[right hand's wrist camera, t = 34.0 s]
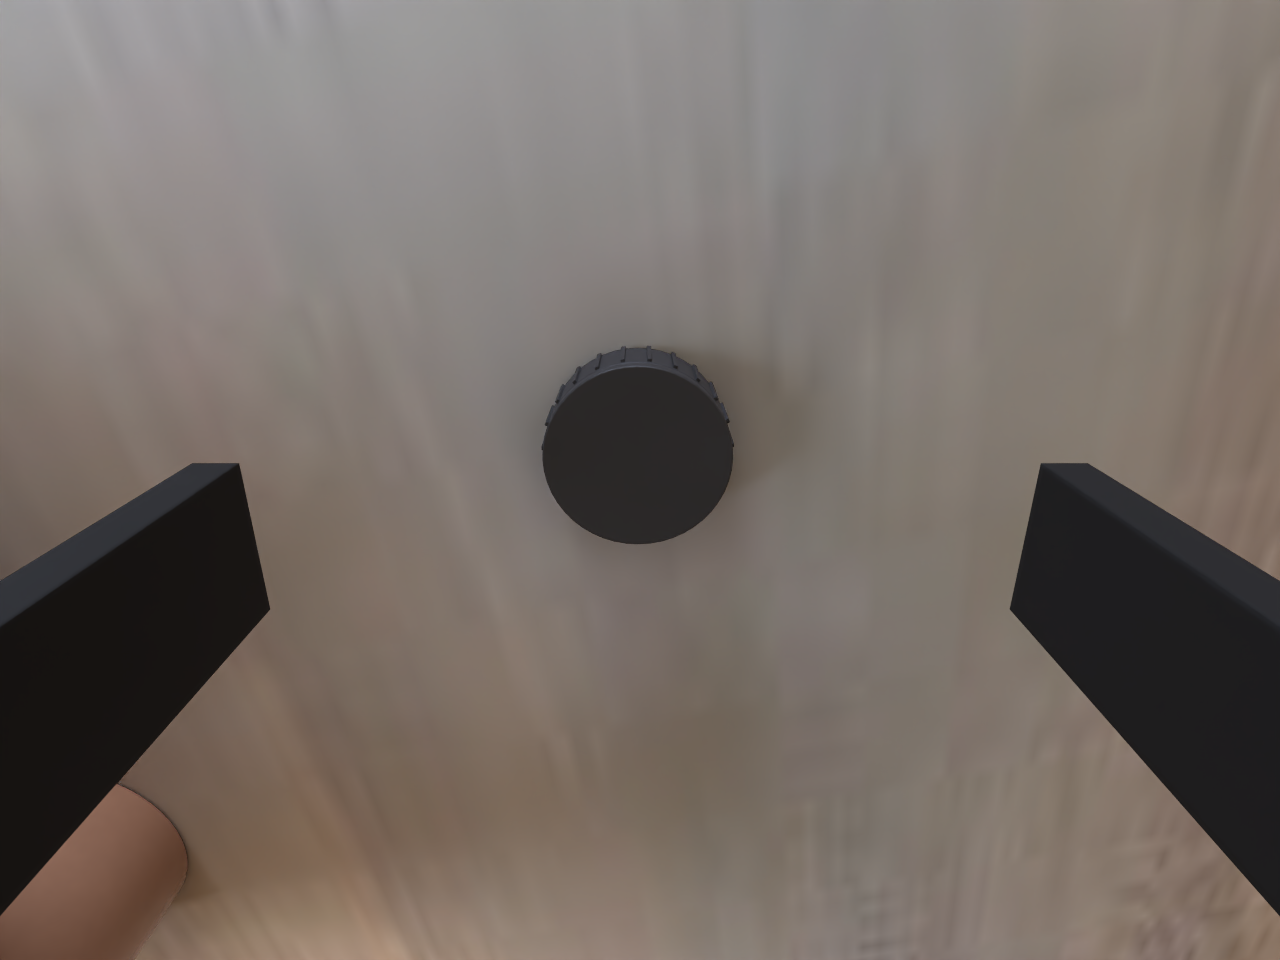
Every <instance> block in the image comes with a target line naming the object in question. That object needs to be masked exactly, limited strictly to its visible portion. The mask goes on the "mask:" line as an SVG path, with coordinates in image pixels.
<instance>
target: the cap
mask: <svg viewBox="0 0 1280 960" xmlns="http://www.w3.org/2000/svg"><path fill="white" fill-rule="evenodd" d="M555 402H556V404H555V406H553V405H552V407H551V410H550V412H549V415H548V418H547V420H546V423H545V426H547V430H546V433H545V436H544V442H543V444H542V450H543V466H544V473H545V476H546V480H547V483H548V485H549V488H550V490H551V493H552V494H553V496H554V498H555V499H556V501H557V503H558V504H559V505H560V507H561V508H562V509H563V510H564V512H565V513H566V514H567V515H568V516H569V517H570V518H571V519H572V520H573V521H575V522H576V523H577V524H579V525H580V526H581V527H583V528H584V529H586V530H588V531H589V532H591V533H593V534H595V535H597V536H600V537H602V538H605V539H608V540H611V541H615V542H621V543H626V544H648V543H655V542H660V541H664V540H667V539H671V538H674V537H676V536H678V535H680V534H683V533H685V532H686V531H688V530H690V529H691V528H693V527H694V526H696V525H697V524H698V523H700V522H701V521H702V520H703V519H704V518H705V517H706V516H707V515H708V514H709V513H710V512H711V511H712V510H713V509H714V507H715V506H716V505H717V503H718V502H719V500H720V499H721V497H722V495H723V494H724V492H725V489H726V487H727V484H728V482H729V478H730V475H731V471H732V463H733V447H734V443H733V440H732V437H731V434H730V431H729V428H728V425H727V423H729V422H730V421H729V418H728V416H727V413H726V410H725V408H724V405H723V403H719V400H718V396H717V394H716V391H715V388H714V385H713V383H712V382H710V383H708V381H707V380H706V379H705V378H704V377H703V376H702V375H701V373H699V372H698V369H697V366H696V365H694V364H693V365H692V366H691V365H690V364H688V363H687V362H685V361H684V360H682V359H680V358H678V357H676V354H675V353H673V352H672V353H671V354H668V353H665V352H662V351H658V350H653V349H651V346H647V349H646V348H630V349H626V347H625V346H624V347H622V348H621V350H617V351H613V352H610V353H607V354H604V355H602V354H601V353H600V354H598V355H597V358H596V359H594V360H592V361H590V362H589V363H588V364H586V365H585V366H583V367H582V368H581V367H580V366H579V367H578V368H577V369H576V372H575V374H574V375H573V376H572V378H571V379H570V380H569V381H568V382H567V384H566V385H564V384H562V386H561V388H560V391H559V393H558V396H557V399H556V401H555Z"/></svg>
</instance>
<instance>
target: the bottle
mask: <svg viewBox="0 0 1280 960" xmlns="http://www.w3.org/2000/svg"><path fill="white" fill-rule="evenodd" d="M187 868H188V860H187V853H186V849H185V846H184V843H183V841H182V839H181V837H180V835H179V833H178V831H177V830H176V828H175V827H174V826H173V824H172V823H171V822H170V821H169V819H168V818H167V817H166V816H165V815H164V814H163V813H162V812H161V811H160V810H159V809H157V808H156V807H155V806H154V805H153V804H151V803H150V802H149V801H147V800H146V799H144V798H143V797H141V796H140V795H138V794H136V793H134V792H133V791H131V790H129V789H127V788H125V787H123V786H120V785H118V784H116V785H115V786H114V787H113V788H112V790H111V791H110V792H109V793H108V794H107V795H106V796H105V798H104V799H103V800H102V801H101V802H100V803H99V804H98V806H97V807H96V808H95V809H94V810H93V811H92V812H91V813H90V815H89V816H88V817H87V818H86V819H85V820H84V821H83V823H82V824H81V825H80V826H79V827H78V828H77V829H76V831H75V832H74V833H73V834H72V835H71V836H70V837H69V838H68V840H67V841H66V842H65V843H64V844H63V845H62V846H61V848H60V849H59V850H58V851H57V852H56V853H55V854H54V856H53V857H52V858H51V859H50V860H49V861H48V862H47V863H46V865H45V866H44V867H43V868H42V869H41V870H40V871H39V873H38V874H37V875H36V876H35V877H34V878H33V879H32V881H31V882H30V883H29V884H28V885H27V886H26V887H25V888H24V890H23V891H22V892H21V893H20V894H19V895H18V896H17V898H16V899H15V900H14V901H13V902H12V903H11V904H10V906H9V907H8V908H7V909H6V910H5V911H4V912H3V913H2V915H1V916H0V960H135V959H136V957H137V955H138V954H139V952H140V951H141V949H142V948H143V946H144V945H145V943H146V942H147V940H148V938H149V937H150V935H151V934H152V932H153V931H154V929H155V928H156V926H157V925H158V923H159V921H160V920H161V918H162V917H163V915H164V914H165V912H166V911H167V909H168V907H169V906H170V904H171V903H172V901H173V900H174V898H175V897H176V895H177V894H178V892H179V890H180V889H181V887H182V886H183V883H184V881H185V878H186V874H187Z"/></svg>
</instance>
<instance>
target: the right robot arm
mask: <svg viewBox="0 0 1280 960" xmlns="http://www.w3.org/2000/svg"><path fill="white" fill-rule="evenodd" d="M269 610H270V606H269V601H268V597H267V592H266V587H265V583H264V578H263V573H262V569H261V564H260V559H259V555H258V550H257V545H256V540H255V536H254V531H253V526H252V522H251V517H250V512H249V508H248V503H247V498H246V494H245V489H244V484H243V480H242V475H241V470H240V465H239V463H192V464H190V465H189V466H187V467H186V468H184V469H182V470H181V471H179V472H177V473H176V474H174V475H172V476H171V477H169V478H168V479H166V480H164V481H163V482H161V483H159V484H158V485H156V486H155V487H153V488H151V489H150V490H148V491H146V492H145V493H143V494H142V495H140V496H138V497H137V498H135V499H133V500H132V501H130V502H128V503H127V504H125V505H124V506H122V507H120V508H119V509H117V510H115V511H114V512H112V513H111V514H109V515H107V516H106V517H104V518H102V519H101V520H99V521H97V522H96V523H94V524H93V525H91V526H89V527H88V528H86V529H84V530H83V531H81V532H80V533H78V534H76V535H75V536H73V537H71V538H70V539H68V540H66V541H65V542H63V543H62V544H60V545H58V546H57V547H55V548H53V549H52V550H50V551H49V552H47V553H45V554H44V555H42V556H40V557H39V558H37V559H35V560H34V561H32V562H31V563H29V564H27V565H26V566H24V567H22V568H21V569H19V570H18V571H16V572H14V573H13V574H11V575H9V576H8V577H6V578H4V579H3V580H1V581H0V916H1V915H2V913H3V912H4V911H5V910H6V909H7V908H8V907H9V906H10V904H11V903H12V902H13V901H14V900H15V899H16V898H17V896H18V895H19V894H20V893H21V892H22V891H23V890H24V888H25V887H26V886H27V885H28V884H29V883H30V882H31V881H32V879H33V878H34V877H35V876H36V875H37V874H38V873H39V871H40V870H41V869H42V868H43V867H44V866H45V865H46V863H47V862H48V861H49V860H50V859H51V858H52V857H53V856H54V854H55V853H56V852H57V851H58V850H59V849H60V848H61V846H62V845H63V844H64V843H65V842H66V841H67V840H68V838H69V837H70V836H71V835H72V834H73V833H74V832H75V831H76V829H77V828H78V827H79V826H80V825H81V824H82V823H83V821H84V820H85V819H86V818H87V817H88V816H89V815H90V813H91V812H92V811H93V810H94V809H95V808H96V807H97V806H98V804H99V803H100V802H101V801H102V800H103V799H104V798H105V796H106V795H107V794H108V793H109V792H110V791H111V790H112V788H113V787H114V786H115V785H116V784H117V783H118V782H119V781H120V779H121V778H122V777H123V776H124V775H125V774H126V773H127V771H128V770H129V769H130V768H131V767H132V766H133V765H134V763H135V762H136V761H137V760H138V759H139V758H140V757H141V756H142V754H143V753H144V752H145V751H146V750H147V749H148V748H149V746H150V745H151V744H152V743H153V742H154V741H155V740H156V738H157V737H158V736H159V735H160V734H161V733H162V732H163V730H164V729H165V728H166V727H167V726H168V725H169V724H170V723H171V721H172V720H173V719H174V718H175V717H176V716H177V715H178V713H179V712H180V711H181V710H182V709H183V708H184V707H185V705H186V704H187V703H188V702H189V701H190V700H191V699H192V698H193V696H194V695H195V694H196V693H197V692H198V691H199V690H200V688H201V687H202V686H203V685H204V684H205V683H206V682H207V680H208V679H209V678H210V677H211V676H212V675H213V674H214V673H215V671H216V670H217V669H218V668H219V667H220V666H221V665H222V663H223V662H224V661H225V660H226V659H227V658H228V657H229V655H230V654H231V653H232V652H233V651H234V650H235V649H236V648H237V646H238V645H239V644H240V643H241V642H242V641H243V640H244V638H245V637H246V636H247V635H248V634H249V633H250V632H251V630H252V629H253V628H254V627H255V626H256V625H257V624H258V623H259V621H260V620H261V619H262V618H263V617H264V616H265V615H266V613H267V612H268V611H269ZM1010 610H1011V611H1012V612H1013V613H1014V615H1015V616H1016V617H1017V618H1018V619H1019V620H1020V621H1021V623H1022V624H1023V625H1024V626H1025V627H1026V628H1027V629H1028V630H1029V632H1030V633H1031V634H1032V635H1033V636H1034V637H1035V638H1036V640H1037V641H1038V642H1039V643H1040V644H1041V645H1042V646H1043V648H1044V649H1045V650H1046V651H1047V652H1048V653H1049V654H1050V655H1051V657H1052V658H1053V659H1054V660H1055V661H1056V662H1057V663H1058V665H1059V666H1060V667H1061V668H1062V669H1063V670H1064V671H1065V673H1066V674H1067V675H1068V676H1069V677H1070V678H1071V679H1072V680H1073V682H1074V683H1075V684H1076V685H1077V686H1078V687H1079V688H1080V690H1081V691H1082V692H1083V693H1084V694H1085V695H1086V696H1087V698H1088V699H1089V700H1090V701H1091V702H1092V703H1093V704H1094V705H1095V707H1096V708H1097V709H1098V710H1099V711H1100V712H1101V713H1102V715H1103V716H1104V717H1105V718H1106V719H1107V720H1108V721H1109V723H1110V724H1111V725H1112V726H1113V727H1114V728H1115V729H1116V730H1117V732H1118V733H1119V734H1120V735H1121V736H1122V737H1123V738H1124V740H1125V741H1126V742H1127V743H1128V744H1129V745H1130V746H1131V748H1132V749H1133V750H1134V751H1135V752H1136V753H1137V754H1138V756H1139V757H1140V758H1141V759H1142V760H1143V761H1144V762H1145V763H1146V765H1147V766H1148V767H1149V768H1150V769H1151V770H1152V771H1153V773H1154V774H1155V775H1156V776H1157V777H1158V778H1159V779H1160V781H1161V782H1162V783H1163V784H1164V785H1165V786H1166V787H1167V788H1168V790H1169V791H1170V792H1171V793H1172V794H1173V795H1174V796H1175V798H1176V799H1177V800H1178V801H1179V802H1180V803H1181V804H1182V806H1183V807H1184V808H1185V809H1186V810H1187V811H1188V812H1189V813H1190V815H1191V816H1192V817H1193V818H1194V819H1195V820H1196V821H1197V823H1198V824H1199V825H1200V826H1201V827H1202V828H1203V829H1204V831H1205V832H1206V833H1207V834H1208V835H1209V836H1210V837H1211V838H1212V840H1213V841H1214V842H1215V843H1216V844H1217V845H1218V846H1219V848H1220V849H1221V850H1222V851H1223V852H1224V853H1225V854H1226V856H1227V857H1228V858H1229V859H1230V860H1231V861H1232V862H1233V863H1234V865H1235V866H1236V867H1237V868H1238V869H1239V870H1240V871H1241V873H1242V874H1243V875H1244V876H1245V877H1246V878H1247V879H1248V881H1249V882H1250V883H1251V884H1252V885H1253V886H1254V887H1255V888H1256V890H1257V891H1258V892H1259V893H1260V894H1261V895H1262V896H1263V898H1264V899H1265V900H1266V901H1267V902H1268V903H1269V904H1270V906H1271V907H1272V908H1273V909H1274V910H1275V911H1276V912H1277V913H1278V915H1279V916H1280V581H1279V580H1277V579H1276V578H1274V577H1272V576H1271V575H1269V574H1267V573H1266V572H1264V571H1262V570H1261V569H1259V568H1258V567H1256V566H1254V565H1253V564H1251V563H1249V562H1248V561H1246V560H1245V559H1243V558H1241V557H1240V556H1238V555H1236V554H1235V553H1233V552H1231V551H1230V550H1228V549H1227V548H1225V547H1223V546H1222V545H1220V544H1218V543H1217V542H1215V541H1214V540H1212V539H1210V538H1209V537H1207V536H1205V535H1204V534H1202V533H1200V532H1199V531H1197V530H1196V529H1194V528H1192V527H1191V526H1189V525H1187V524H1186V523H1184V522H1183V521H1181V520H1179V519H1178V518H1176V517H1174V516H1173V515H1171V514H1169V513H1168V512H1166V511H1165V510H1163V509H1161V508H1160V507H1158V506H1156V505H1155V504H1153V503H1152V502H1150V501H1148V500H1147V499H1145V498H1143V497H1142V496H1140V495H1138V494H1137V493H1135V492H1134V491H1132V490H1130V489H1129V488H1127V487H1125V486H1124V485H1122V484H1121V483H1119V482H1117V481H1116V480H1114V479H1112V478H1111V477H1109V476H1108V475H1106V474H1104V473H1103V472H1101V471H1099V470H1098V469H1096V468H1094V467H1093V466H1091V465H1090V464H1088V463H1041V465H1040V470H1039V475H1038V480H1037V484H1036V489H1035V494H1034V498H1033V503H1032V508H1031V512H1030V517H1029V522H1028V526H1027V531H1026V536H1025V540H1024V545H1023V550H1022V555H1021V559H1020V564H1019V569H1018V573H1017V578H1016V583H1015V587H1014V592H1013V597H1012V601H1011V606H1010Z"/></svg>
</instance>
